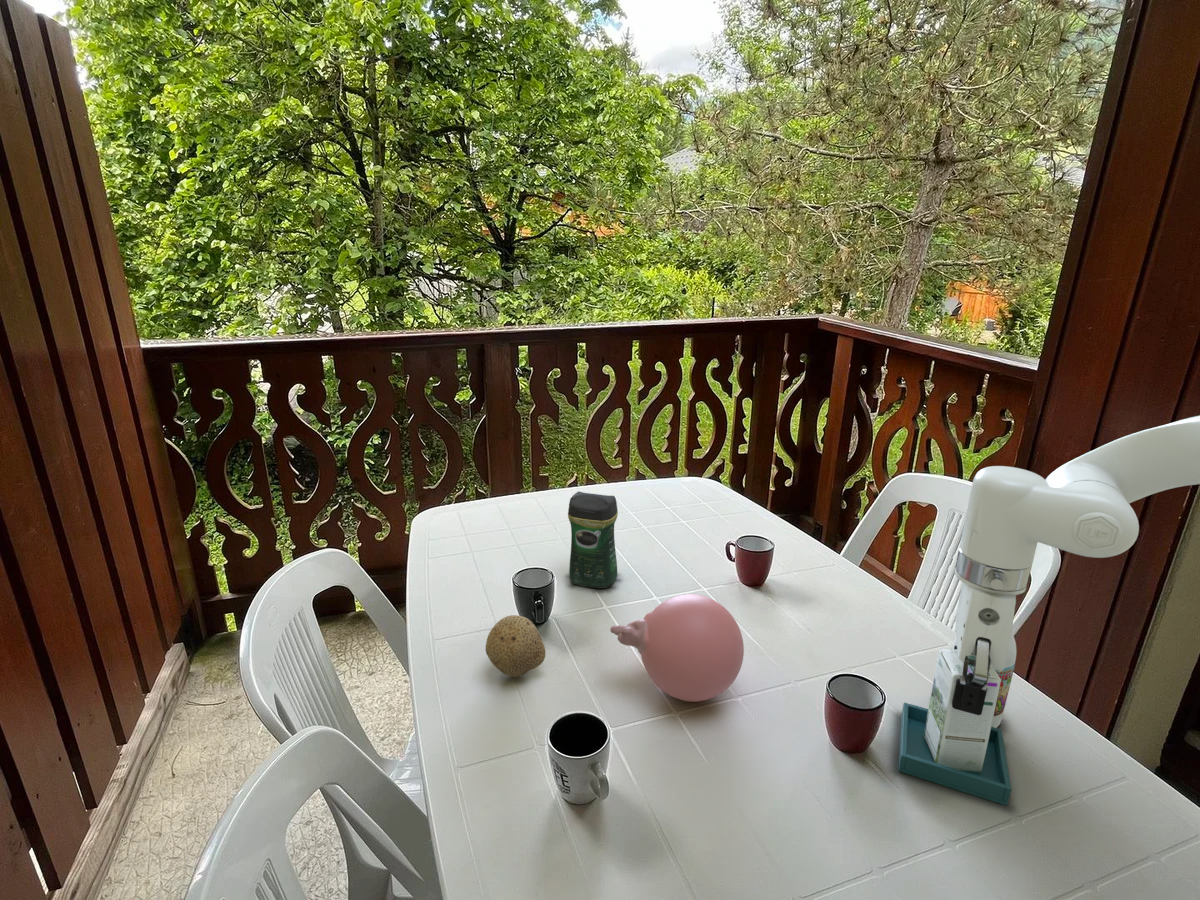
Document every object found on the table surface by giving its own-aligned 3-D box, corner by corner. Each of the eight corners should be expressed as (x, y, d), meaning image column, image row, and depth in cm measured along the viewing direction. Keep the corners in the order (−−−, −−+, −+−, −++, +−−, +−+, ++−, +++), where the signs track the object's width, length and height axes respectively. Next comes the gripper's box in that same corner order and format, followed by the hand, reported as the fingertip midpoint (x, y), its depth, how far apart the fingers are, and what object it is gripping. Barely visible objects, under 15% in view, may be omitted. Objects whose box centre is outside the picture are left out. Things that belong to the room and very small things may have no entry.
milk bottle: (928, 702, 96) (952, 584, 89) (968, 692, 98) (994, 576, 92) (970, 738, 89) (999, 613, 82) (1013, 726, 91) (1044, 604, 85)
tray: (998, 744, 87) (1001, 729, 87) (1007, 806, 78) (1011, 789, 77) (901, 716, 93) (903, 702, 92) (898, 771, 83) (901, 755, 82)
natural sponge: (479, 664, 103) (476, 610, 100) (530, 649, 107) (528, 597, 104) (497, 698, 96) (494, 641, 93) (551, 680, 100) (550, 625, 97)
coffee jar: (621, 574, 132) (622, 490, 126) (609, 593, 125) (610, 505, 119) (577, 566, 135) (577, 484, 129) (563, 584, 128) (562, 499, 122)
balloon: (618, 649, 107) (620, 568, 103) (739, 664, 104) (746, 581, 99) (600, 711, 93) (601, 621, 88) (740, 732, 89) (748, 638, 85)
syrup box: (983, 773, 82) (1005, 679, 77) (934, 767, 83) (953, 674, 78) (966, 741, 87) (986, 651, 83) (920, 736, 88) (938, 646, 84)
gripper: (1040, 612, 67) (1005, 747, 73) (1019, 545, 82) (991, 662, 88) (960, 595, 70) (932, 726, 76) (953, 534, 85) (931, 647, 91)
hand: (964, 691), depth 82 cm, fingers closed on syrup box, 6 cm apart
